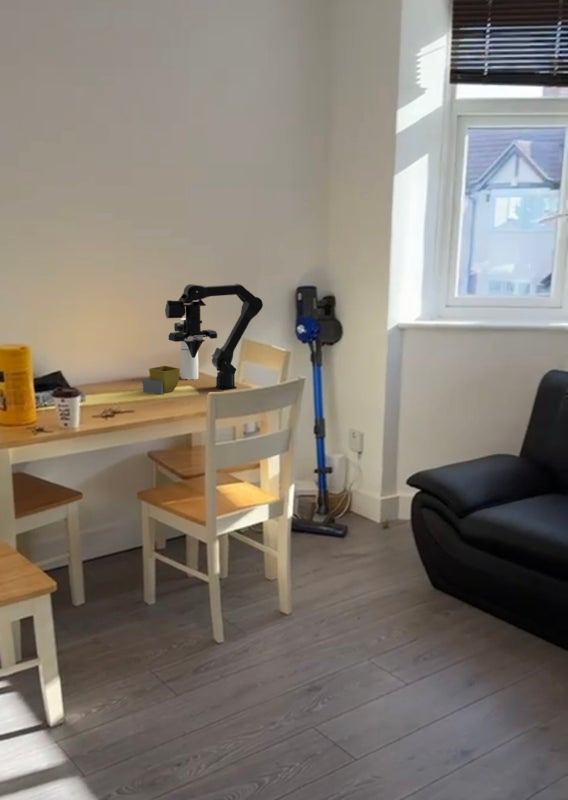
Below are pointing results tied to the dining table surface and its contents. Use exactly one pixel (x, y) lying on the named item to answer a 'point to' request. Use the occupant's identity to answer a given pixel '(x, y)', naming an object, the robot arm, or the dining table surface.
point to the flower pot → (165, 376)
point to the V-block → (152, 386)
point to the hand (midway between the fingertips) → (193, 357)
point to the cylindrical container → (188, 361)
